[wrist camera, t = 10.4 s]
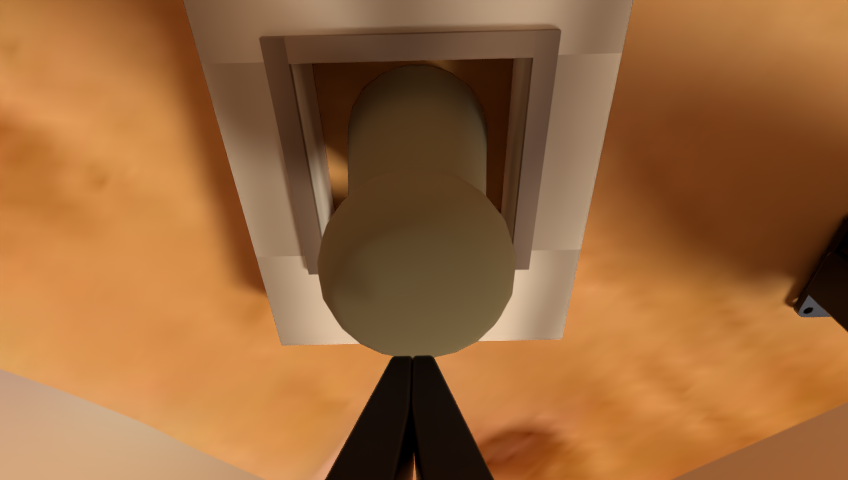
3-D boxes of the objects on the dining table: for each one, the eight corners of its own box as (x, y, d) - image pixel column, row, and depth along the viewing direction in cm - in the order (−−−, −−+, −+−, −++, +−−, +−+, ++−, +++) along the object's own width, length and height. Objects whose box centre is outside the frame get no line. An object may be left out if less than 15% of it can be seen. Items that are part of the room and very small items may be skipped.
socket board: (625, -151, 15) (673, -170, 12) (547, 298, 25) (563, 343, 23) (187, -139, 15) (133, -155, 12) (295, 304, 25) (280, 350, 23)
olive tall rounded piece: (351, 54, 18) (281, 181, 9) (501, 75, 18) (582, 216, 9) (345, 190, 21) (290, 383, 12) (472, 204, 22) (511, 401, 13)
